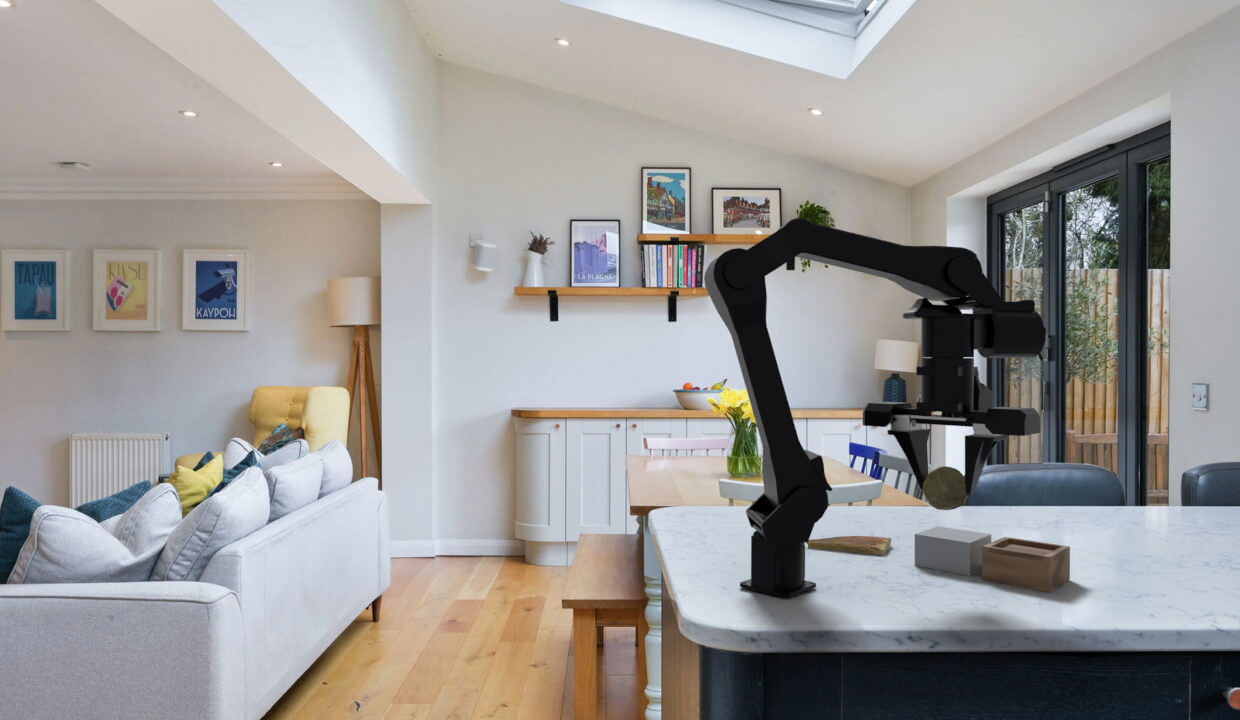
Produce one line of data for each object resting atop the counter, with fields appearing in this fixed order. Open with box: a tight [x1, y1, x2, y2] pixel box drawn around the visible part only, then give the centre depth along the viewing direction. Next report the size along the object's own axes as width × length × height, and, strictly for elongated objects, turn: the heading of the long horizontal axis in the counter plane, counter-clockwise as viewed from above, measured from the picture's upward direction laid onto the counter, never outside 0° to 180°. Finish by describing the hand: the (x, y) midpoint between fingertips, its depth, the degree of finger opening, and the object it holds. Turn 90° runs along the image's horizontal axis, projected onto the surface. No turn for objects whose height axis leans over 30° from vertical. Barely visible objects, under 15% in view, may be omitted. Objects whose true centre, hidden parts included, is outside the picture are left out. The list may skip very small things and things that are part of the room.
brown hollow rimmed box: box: [981, 536, 1071, 593], centre depth 98 cm, size 8×8×4 cm
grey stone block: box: [914, 526, 992, 576], centre depth 104 cm, size 7×7×4 cm
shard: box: [805, 535, 892, 557], centre depth 115 cm, size 11×8×2 cm
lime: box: [922, 465, 970, 511], centre depth 95 cm, size 4×5×5 cm
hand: (946, 491), depth 95 cm, fingers closed on lime, 5 cm apart
